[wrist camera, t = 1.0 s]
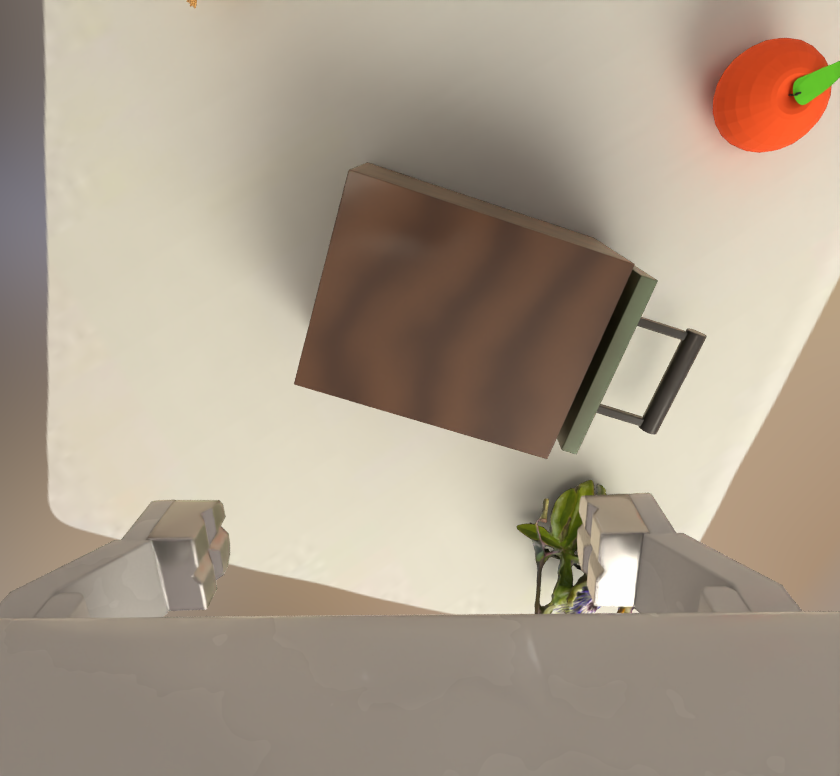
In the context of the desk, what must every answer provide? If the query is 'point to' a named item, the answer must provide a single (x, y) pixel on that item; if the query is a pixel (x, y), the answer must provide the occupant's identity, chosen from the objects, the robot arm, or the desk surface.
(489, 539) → the desk surface
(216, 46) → the desk surface
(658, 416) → the drawer
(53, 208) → the desk surface
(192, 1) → the figurine
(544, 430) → the cabinet
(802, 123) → the clementine
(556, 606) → the passion flower
